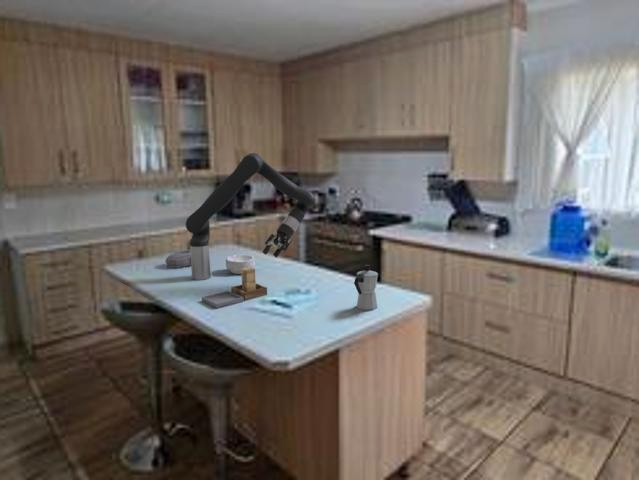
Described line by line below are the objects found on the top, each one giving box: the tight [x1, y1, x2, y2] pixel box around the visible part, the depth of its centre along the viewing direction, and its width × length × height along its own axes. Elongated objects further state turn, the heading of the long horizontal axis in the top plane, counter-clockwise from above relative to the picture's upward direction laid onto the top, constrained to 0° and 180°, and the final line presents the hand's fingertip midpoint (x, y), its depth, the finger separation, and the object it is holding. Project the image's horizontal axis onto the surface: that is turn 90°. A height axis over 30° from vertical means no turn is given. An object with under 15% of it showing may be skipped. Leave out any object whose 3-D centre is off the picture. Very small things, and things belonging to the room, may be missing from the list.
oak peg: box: [241, 267, 256, 292], centre depth 204 cm, size 4×4×12 cm
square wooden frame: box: [230, 283, 268, 302], centre depth 205 cm, size 12×12×4 cm
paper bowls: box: [225, 254, 256, 275], centre depth 243 cm, size 15×15×8 cm
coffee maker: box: [353, 264, 379, 311], centre depth 185 cm, size 15×9×18 cm, turn 141°
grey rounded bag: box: [165, 250, 191, 269], centre depth 258 cm, size 15×8×20 cm
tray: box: [201, 290, 245, 310], centre depth 196 cm, size 13×13×2 cm
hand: (269, 254), depth 209 cm, fingers open, 8 cm apart
